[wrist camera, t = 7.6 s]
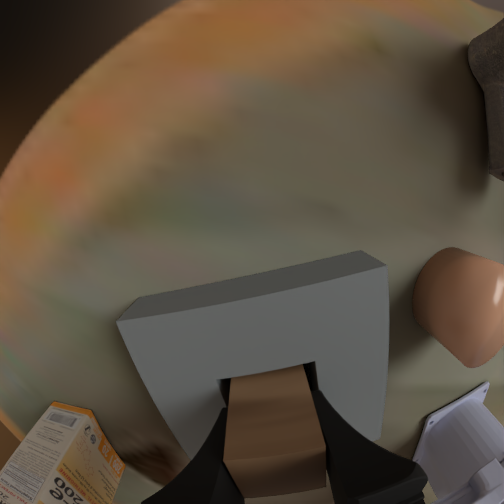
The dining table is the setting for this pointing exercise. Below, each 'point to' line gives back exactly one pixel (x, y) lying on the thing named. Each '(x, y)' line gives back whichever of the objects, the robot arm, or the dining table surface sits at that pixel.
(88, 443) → the supplement box
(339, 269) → the block
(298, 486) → the square peg
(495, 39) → the pipe
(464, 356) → the peach egg-shaped blob
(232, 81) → the dining table surface
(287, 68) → the dining table surface
